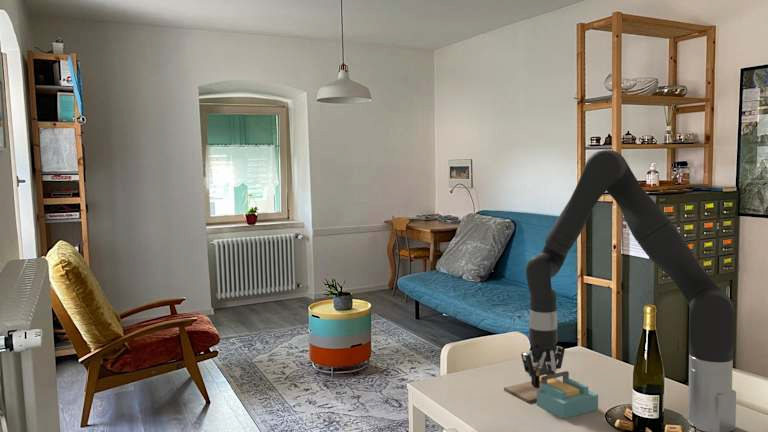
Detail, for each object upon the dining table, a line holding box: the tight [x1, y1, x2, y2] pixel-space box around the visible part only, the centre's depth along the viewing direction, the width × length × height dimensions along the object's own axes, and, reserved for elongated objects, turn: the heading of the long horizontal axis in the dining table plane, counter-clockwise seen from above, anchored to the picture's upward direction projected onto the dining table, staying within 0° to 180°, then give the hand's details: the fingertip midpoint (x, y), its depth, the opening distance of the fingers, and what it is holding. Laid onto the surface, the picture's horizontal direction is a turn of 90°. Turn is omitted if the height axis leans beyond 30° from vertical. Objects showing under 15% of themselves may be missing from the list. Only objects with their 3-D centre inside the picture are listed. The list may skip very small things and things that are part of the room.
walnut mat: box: [503, 380, 541, 404], centre depth 168 cm, size 11×14×1 cm
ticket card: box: [539, 375, 580, 397], centre depth 160 cm, size 13×5×1 cm, turn 26°
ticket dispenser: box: [536, 370, 599, 420], centre depth 156 cm, size 10×12×8 cm
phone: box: [528, 360, 548, 377], centre depth 187 cm, size 8×1×15 cm
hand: (543, 385), depth 164 cm, fingers closed on ticket card, 4 cm apart
